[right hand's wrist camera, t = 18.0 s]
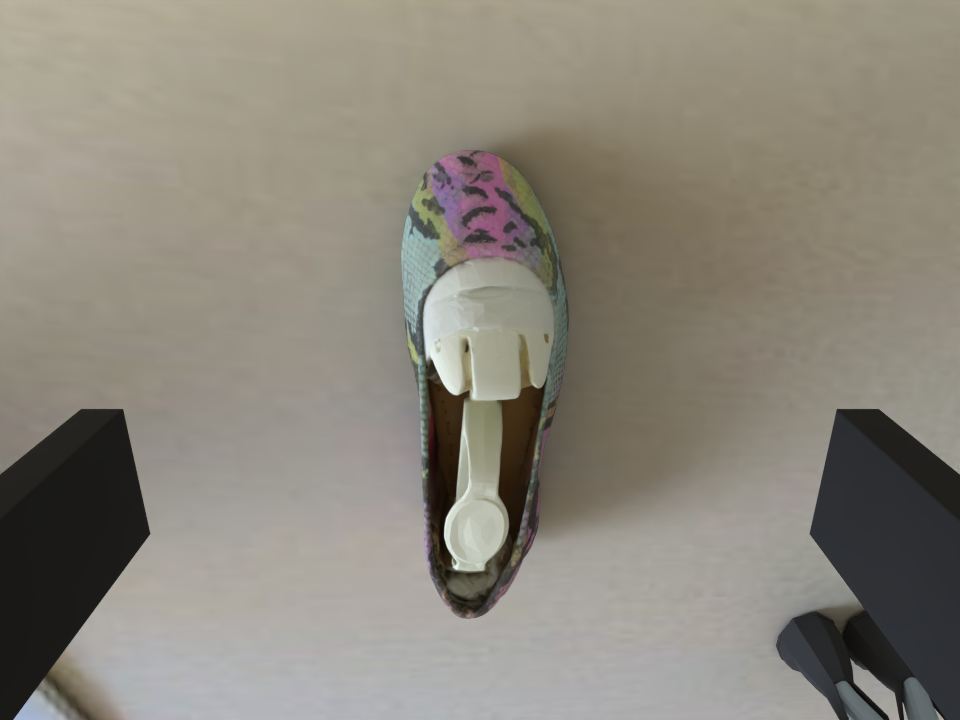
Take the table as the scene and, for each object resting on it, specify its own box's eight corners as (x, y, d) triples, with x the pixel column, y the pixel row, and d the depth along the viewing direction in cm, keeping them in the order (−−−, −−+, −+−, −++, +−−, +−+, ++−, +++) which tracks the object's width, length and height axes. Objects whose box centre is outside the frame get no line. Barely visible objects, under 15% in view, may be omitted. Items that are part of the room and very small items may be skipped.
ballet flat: (574, 148, 33) (604, 168, 25) (548, 554, 42) (564, 664, 34) (402, 146, 33) (378, 165, 25) (413, 553, 42) (398, 662, 34)
